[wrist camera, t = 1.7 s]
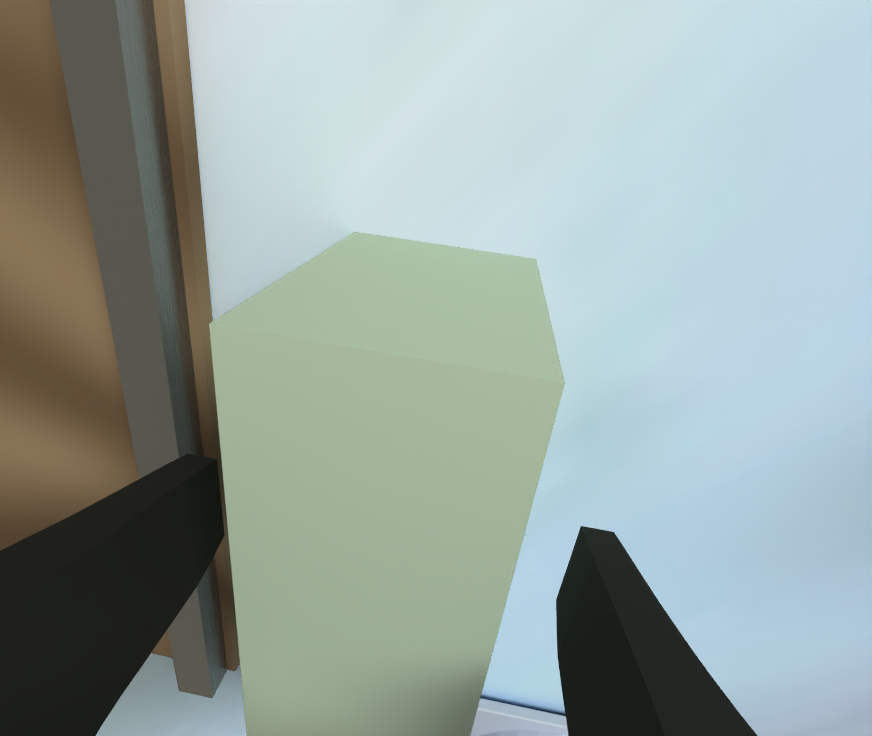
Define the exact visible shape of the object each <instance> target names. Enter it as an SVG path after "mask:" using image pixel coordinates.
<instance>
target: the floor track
mask: <svg viewBox="0 0 872 736" xmlns="http://www.w3.org/2000/svg"><path fill="white" fill-rule="evenodd" d="M211 322H212V311H211V300H210V288H209V277H208V266H207V254H206V243H205V232H204V220H203V209H202V198H201V186H200V175H199V164H198V152H197V141H196V130H195V118H194V107H193V96H192V84H191V73H190V62H189V50H188V39H187V28H186V16H185V5H184V0H0V551H1V550H3V549H5V548H7V547H9V546H11V545H13V544H15V543H17V542H19V541H21V540H23V539H25V538H27V537H29V536H31V535H33V534H35V533H37V532H39V531H41V530H43V529H45V528H47V527H49V526H51V525H53V524H55V523H57V522H59V521H61V520H63V519H65V518H67V517H69V516H71V515H73V514H75V513H77V512H79V511H81V510H82V509H84V508H86V507H88V506H90V505H92V504H94V503H96V502H97V501H99V500H101V499H103V498H105V497H107V496H109V495H111V494H112V493H114V492H116V491H118V490H120V489H122V488H124V487H125V486H127V485H129V484H131V483H133V482H135V481H137V480H138V479H140V478H142V477H144V476H146V475H148V474H149V473H151V472H153V471H155V470H157V469H159V468H161V467H162V466H164V465H166V464H168V463H170V462H172V461H174V460H176V459H178V458H180V457H182V456H184V455H186V454H193V455H199V456H204V457H209V458H215V459H217V463H218V473H219V483H220V493H221V503H222V513H223V523H224V533H225V536H224V537H223V539H222V541H221V543H220V545H219V547H218V549H217V551H216V553H215V555H214V557H213V559H212V561H211V563H210V564H209V566H208V568H207V570H206V572H205V573H204V575H203V577H202V579H201V581H200V583H199V584H198V586H197V587H196V589H195V590H194V592H193V593H192V595H191V596H190V597H189V599H188V600H187V602H186V603H185V605H184V606H183V608H182V609H181V611H180V612H179V613H178V615H177V616H176V618H175V619H174V621H173V622H172V624H171V625H170V626H169V628H168V629H167V631H166V632H165V634H164V635H163V636H162V638H161V639H160V641H159V642H158V644H157V645H156V646H155V648H154V649H153V651H152V652H151V653H153V654H158V655H162V656H167V657H172V658H173V662H174V667H175V672H176V678H177V683H178V688H179V691H182V692H187V693H191V694H196V695H200V696H205V697H209V698H213V696H214V694H215V692H216V690H217V688H218V686H219V685H220V683H221V681H222V679H223V677H224V675H225V673H226V671H227V670H232V671H236V669H237V667H238V665H239V663H240V657H239V646H238V635H237V624H236V613H235V602H234V591H233V580H232V569H231V558H230V547H229V536H228V525H227V514H226V503H225V492H224V481H223V470H222V459H221V448H220V437H219V426H218V415H217V404H216V393H215V383H214V372H213V361H212V350H211V339H210V328H209V324H210V323H211Z"/></svg>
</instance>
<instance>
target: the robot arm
mask: <svg viewBox="0 0 872 736" xmlns="http://www.w3.org/2000/svg"><path fill="white" fill-rule="evenodd" d="M224 536H225V533H224V523H223V513H222V503H221V493H220V483H219V473H218V463H217V459H215V458H209V457H204V456H199V455H193V454H186V455H184V456H182V457H180V458H178V459H176V460H174V461H172V462H170V463H168V464H166V465H164V466H162V467H161V468H159V469H157V470H155V471H153V472H151V473H149V474H148V475H146V476H144V477H142V478H140V479H138V480H137V481H135V482H133V483H131V484H129V485H127V486H125V487H124V488H122V489H120V490H118V491H116V492H114V493H112V494H111V495H109V496H107V497H105V498H103V499H101V500H99V501H97V502H96V503H94V504H92V505H90V506H88V507H86V508H84V509H82V510H81V511H79V512H77V513H75V514H73V515H71V516H69V517H67V518H65V519H63V520H61V521H59V522H57V523H55V524H53V525H51V526H49V527H47V528H45V529H43V530H41V531H39V532H37V533H35V534H33V535H31V536H29V537H27V538H25V539H23V540H21V541H19V542H17V543H15V544H13V545H11V546H9V547H7V548H5V549H3V550H1V551H0V736H96V734H97V732H98V730H99V729H100V727H101V725H102V724H103V722H104V721H105V719H106V718H107V716H108V715H109V713H110V712H111V710H112V709H113V707H114V706H115V704H116V702H117V701H118V699H119V698H120V696H121V695H122V694H123V692H124V691H125V689H126V688H127V686H128V685H129V684H130V682H131V681H132V679H133V678H134V676H135V675H136V674H137V672H138V671H139V669H140V668H141V666H142V665H143V664H144V662H145V661H146V659H147V658H148V656H149V655H150V654H151V652H152V651H153V649H154V648H155V646H156V645H157V644H158V642H159V641H160V639H161V638H162V636H163V635H164V634H165V632H166V631H167V629H168V628H169V626H170V625H171V624H172V622H173V621H174V619H175V618H176V616H177V615H178V613H179V612H180V611H181V609H182V608H183V606H184V605H185V603H186V602H187V600H188V599H189V597H190V596H191V595H192V593H193V592H194V590H195V589H196V587H197V586H198V584H199V583H200V581H201V579H202V577H203V575H204V573H205V572H206V570H207V568H208V566H209V564H210V563H211V561H212V559H213V557H214V555H215V553H216V551H217V549H218V547H219V545H220V543H221V541H222V539H223V537H224ZM556 611H557V649H558V662H559V670H560V677H561V685H562V693H563V700H564V707H565V715H566V716H563V715H558V714H553V713H548V712H544V711H539V710H534V709H530V708H525V707H520V706H515V705H511V704H506V703H501V702H497V701H492V700H487V699H482V698H480V701H479V705H478V709H477V712H476V716H475V720H474V724H473V727H472V731H471V735H470V736H757V735H756V733H755V732H754V731H753V730H752V728H751V727H750V726H749V725H748V723H747V722H746V721H745V720H744V718H743V717H742V716H741V715H740V713H739V712H738V711H737V710H736V708H735V707H734V706H733V704H732V703H731V702H730V700H729V699H728V698H727V696H726V695H725V694H724V692H723V691H722V690H721V689H720V687H719V686H718V685H717V683H716V682H715V681H714V679H713V678H712V677H711V675H710V674H709V673H708V671H707V670H706V668H705V667H704V666H703V664H702V663H701V662H700V660H699V659H698V657H697V656H696V655H695V653H694V652H693V650H692V649H691V648H690V646H689V645H688V643H687V642H686V640H685V639H684V637H683V636H682V635H681V633H680V632H679V630H678V629H677V627H676V626H675V625H674V623H673V622H672V620H671V619H670V617H669V616H668V614H667V613H666V611H665V610H664V608H663V607H662V605H661V604H660V603H659V601H658V599H657V598H656V596H655V595H654V593H653V592H652V590H651V589H650V587H649V586H648V584H647V583H646V581H645V580H644V578H643V576H642V575H641V573H640V572H639V570H638V569H637V567H636V566H635V564H634V562H633V561H632V559H631V558H630V556H629V555H628V553H627V552H626V550H625V548H624V547H623V545H622V544H621V542H620V541H619V539H618V538H617V536H616V535H615V533H614V532H610V531H605V530H599V529H594V528H589V527H583V526H581V528H580V531H579V534H578V537H577V540H576V543H575V546H574V549H573V552H572V555H571V558H570V561H569V564H568V567H567V570H566V573H565V576H564V578H563V581H562V584H561V587H560V590H559V593H558V596H557V599H556Z"/></svg>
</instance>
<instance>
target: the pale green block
mask: <svg viewBox="0 0 872 736" xmlns="http://www.w3.org/2000/svg"><path fill="white" fill-rule="evenodd" d="M209 328H210V339H211V350H212V361H213V372H214V383H215V393H216V404H217V415H218V426H219V437H220V448H221V459H222V470H223V481H224V492H225V503H226V514H227V525H228V536H229V547H230V558H231V569H232V580H233V591H234V602H235V613H236V624H237V635H238V646H239V657H240V667H241V678H242V689H243V700H244V711H245V722H246V733H247V736H470V735H471V731H472V727H473V724H474V720H475V716H476V712H477V709H478V705H479V701H480V697H481V694H482V690H483V686H484V682H485V679H486V675H487V671H488V668H489V664H490V660H491V656H492V653H493V649H494V645H495V641H496V638H497V634H498V630H499V626H500V623H501V619H502V615H503V612H504V608H505V604H506V600H507V597H508V593H509V589H510V585H511V582H512V578H513V574H514V571H515V567H516V563H517V559H518V556H519V552H520V548H521V544H522V541H523V537H524V533H525V529H526V526H527V522H528V518H529V515H530V511H531V507H532V503H533V500H534V496H535V492H536V488H537V485H538V481H539V477H540V473H541V470H542V466H543V462H544V459H545V455H546V451H547V447H548V444H549V440H550V436H551V432H552V429H553V425H554V421H555V418H556V414H557V410H558V406H559V403H560V399H561V395H562V391H563V388H564V384H565V382H564V377H563V373H562V369H561V364H560V360H559V356H558V351H557V347H556V343H555V338H554V334H553V330H552V325H551V321H550V317H549V312H548V308H547V304H546V299H545V295H544V291H543V286H542V282H541V278H540V273H539V269H538V265H537V260H536V259H533V258H526V257H520V256H513V255H506V254H500V253H493V252H486V251H480V250H473V249H466V248H460V247H453V246H446V245H440V244H433V243H426V242H420V241H413V240H406V239H400V238H393V237H386V236H380V235H373V234H367V233H360V232H354V233H352V234H351V235H349V236H348V237H346V238H344V239H343V240H341V241H340V242H338V243H336V244H335V245H333V246H332V247H330V248H329V249H327V250H325V251H324V252H322V253H321V254H319V255H317V256H316V257H314V258H313V259H311V260H309V261H308V262H306V263H305V264H303V265H302V266H300V267H298V268H297V269H295V270H294V271H292V272H290V273H289V274H287V275H286V276H284V277H283V278H281V279H279V280H278V281H276V282H275V283H273V284H271V285H270V286H268V287H267V288H265V289H263V290H262V291H260V292H259V293H257V294H256V295H254V296H252V297H251V298H249V299H248V300H246V301H244V302H243V303H241V304H240V305H238V306H237V307H235V308H233V309H232V310H230V311H229V312H227V313H225V314H224V315H222V316H221V317H219V318H217V319H216V320H214V321H213V322H211V323H210V324H209Z"/></svg>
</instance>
